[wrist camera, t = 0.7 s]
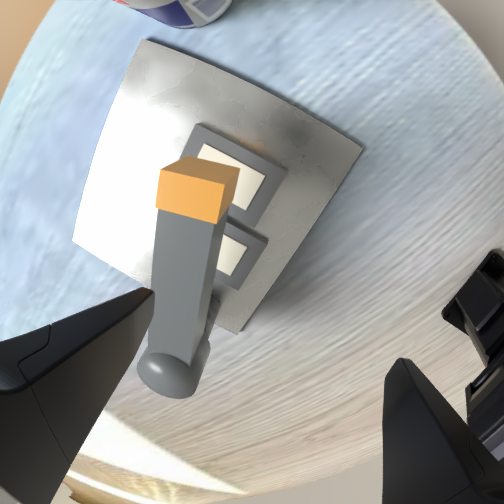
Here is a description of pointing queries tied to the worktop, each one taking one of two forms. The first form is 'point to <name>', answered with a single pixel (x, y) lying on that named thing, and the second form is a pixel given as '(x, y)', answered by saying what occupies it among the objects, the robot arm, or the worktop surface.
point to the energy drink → (180, 11)
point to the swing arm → (185, 271)
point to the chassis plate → (169, 150)
